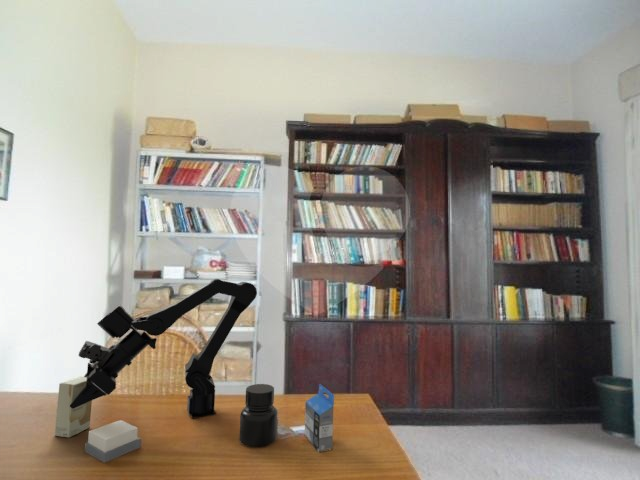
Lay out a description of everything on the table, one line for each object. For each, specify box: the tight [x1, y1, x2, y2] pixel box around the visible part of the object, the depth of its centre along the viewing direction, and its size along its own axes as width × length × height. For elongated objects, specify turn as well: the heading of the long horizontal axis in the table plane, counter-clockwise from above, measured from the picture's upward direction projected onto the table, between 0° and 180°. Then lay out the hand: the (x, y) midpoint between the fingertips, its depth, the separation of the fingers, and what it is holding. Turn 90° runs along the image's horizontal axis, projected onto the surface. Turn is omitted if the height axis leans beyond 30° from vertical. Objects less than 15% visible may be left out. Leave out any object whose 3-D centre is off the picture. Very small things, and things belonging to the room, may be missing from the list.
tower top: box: [87, 419, 139, 452], centre depth 81 cm, size 7×7×2 cm
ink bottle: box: [238, 383, 279, 448], centre depth 88 cm, size 10×9×12 cm
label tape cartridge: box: [304, 383, 335, 453], centre depth 87 cm, size 9×4×12 cm, turn 24°
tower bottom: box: [84, 436, 142, 464], centre depth 81 cm, size 8×8×2 cm
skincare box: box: [54, 376, 93, 438], centre depth 89 cm, size 6×4×12 cm
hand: (72, 400), depth 89 cm, fingers open, 9 cm apart
